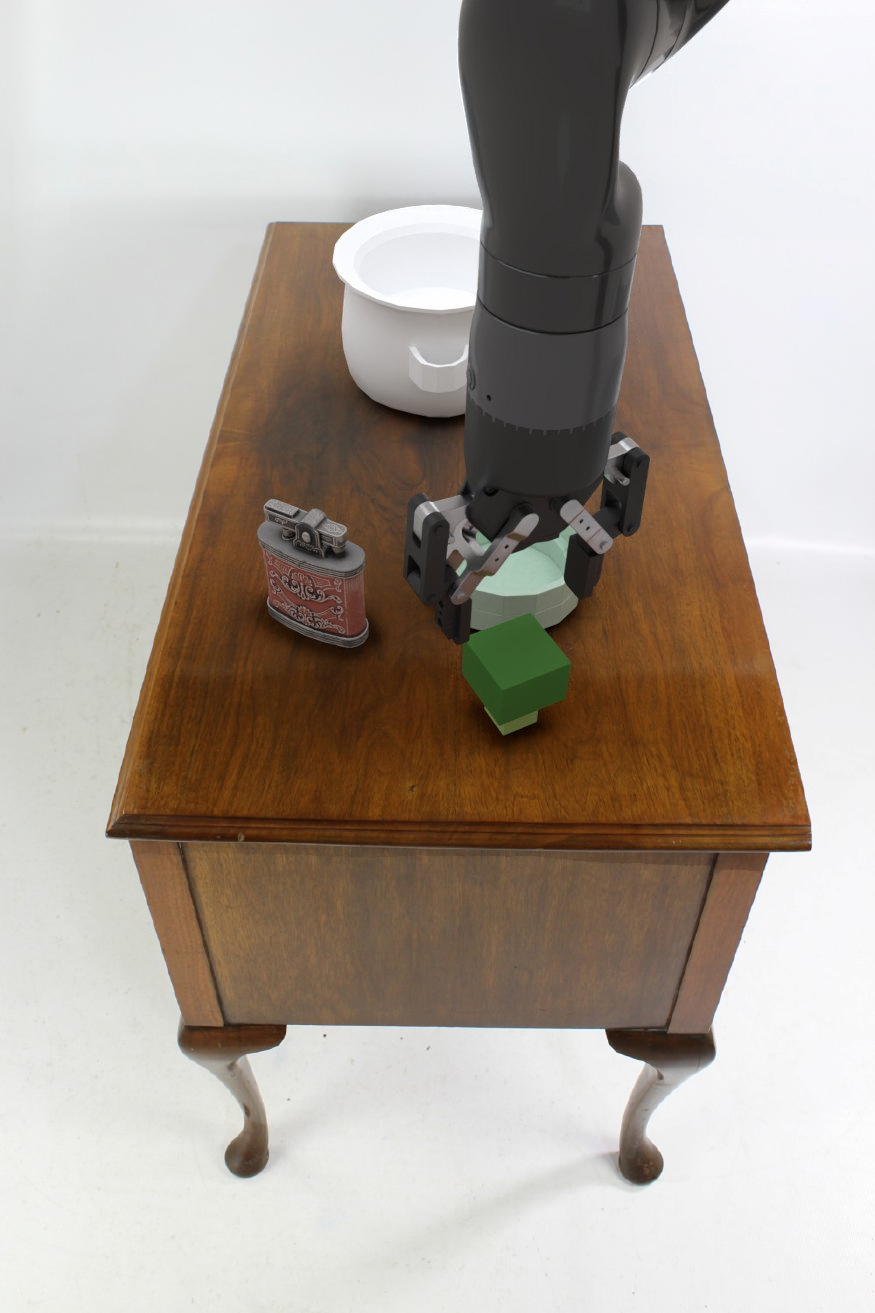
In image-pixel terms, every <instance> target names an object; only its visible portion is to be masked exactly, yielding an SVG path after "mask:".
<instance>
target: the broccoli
mask: <svg viewBox="0 0 875 1313" xmlns="http://www.w3.org/2000/svg"><path fill="white" fill-rule="evenodd" d="M461 658H462V660H461V675H462V676H463V677H464V679H465V680H466V682H467V683H468V684H469V686H470V687H471V689H472V690H473V692H474V693H475V695H476V696H477V697H478V698H479V700H480V701H481V703H482V704H483V705H484V708H483V709H484V710H485V712H486V713H487V715H488V717H490V719H491V720H492V722H493V723H494V725H495V726H496V728H497V729H498V730H499V732H500V733H501V734H502V736H506V735H508V734H511V733H513V732H515V731H518V730H520V729H523V728H525V727H528V726H531V725H533V724H535V723H537V722H538V714H539V711H540V710H543V709H545V708H547V707H549V706H553V705H554V704H556V703H559V702H561V701H564V700H566V699H567V695H568V687H569V680H570V675H571V668H572V662H571V661H570V659H569V658H568V657H567V656H566V654H565V653H564V652H563V651H562V649H561V648H560V647H559V645H558V644H557V643H556V642H555V640H553V638H552V637H551V636H550V634H548V632H547V631H546V630H545V629H544V628H543V627H542V626H541V625H540V624H539V622H538V621H537V620H536V619H535V617H534V616H533V615H532V614H531V613H528V614H525V615H522V616H520V617H517V618H514V619H512V620H509V621H506V622H504V623H501V624H498V625H496V626H493V627H490V628H487V629H485V630H478V631H477V632H474V633H470V640H469V641H468V642H466V643H463V644H462V657H461Z"/></svg>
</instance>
